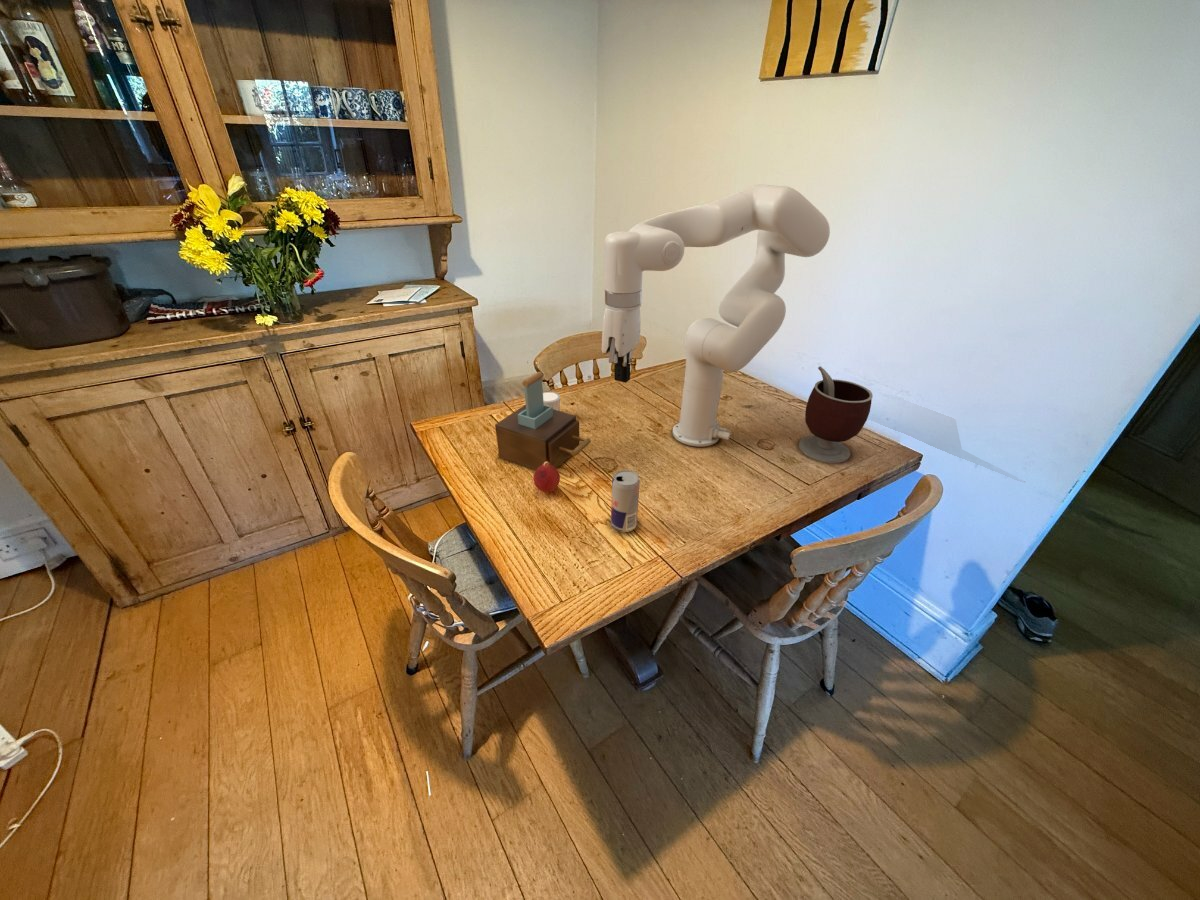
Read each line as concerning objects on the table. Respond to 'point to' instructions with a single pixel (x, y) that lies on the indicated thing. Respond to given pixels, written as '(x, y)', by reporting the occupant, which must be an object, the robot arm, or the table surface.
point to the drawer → (565, 444)
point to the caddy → (534, 403)
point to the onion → (546, 477)
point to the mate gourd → (834, 418)
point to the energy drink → (625, 500)
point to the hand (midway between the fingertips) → (622, 380)
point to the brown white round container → (552, 400)
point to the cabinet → (528, 438)
